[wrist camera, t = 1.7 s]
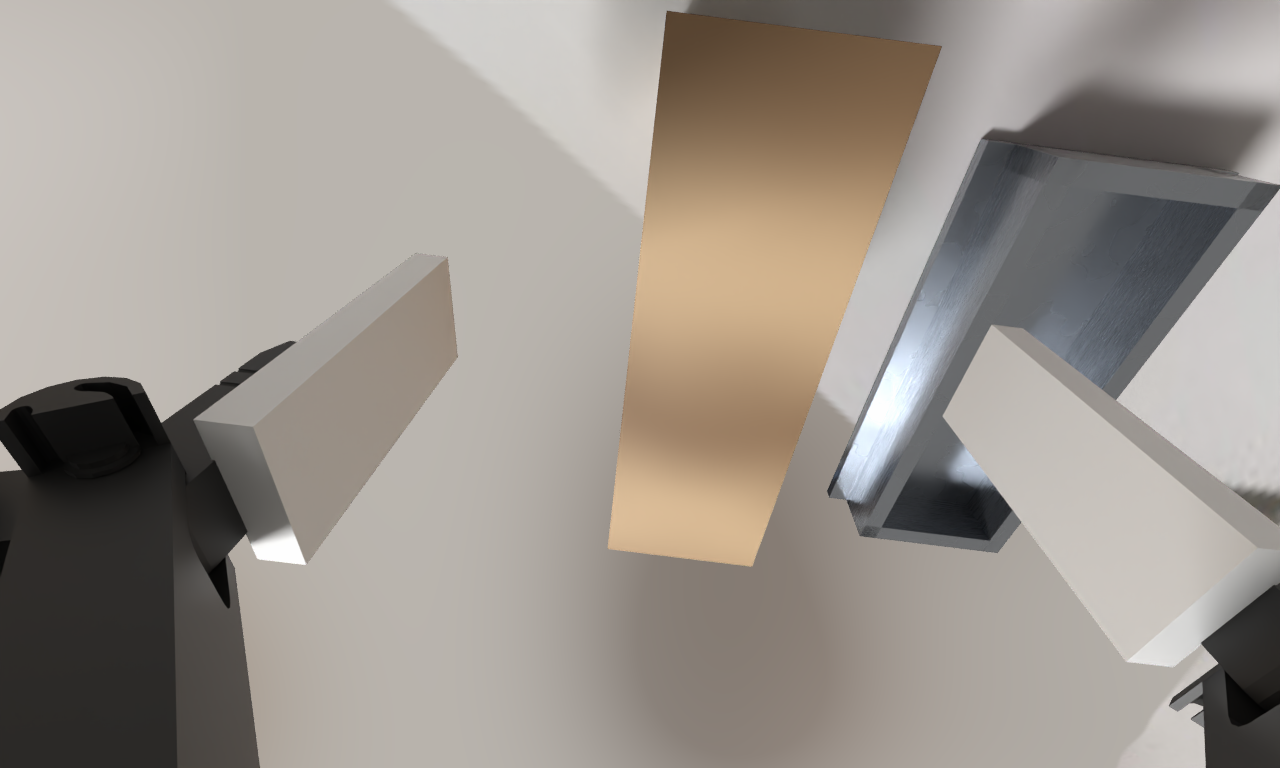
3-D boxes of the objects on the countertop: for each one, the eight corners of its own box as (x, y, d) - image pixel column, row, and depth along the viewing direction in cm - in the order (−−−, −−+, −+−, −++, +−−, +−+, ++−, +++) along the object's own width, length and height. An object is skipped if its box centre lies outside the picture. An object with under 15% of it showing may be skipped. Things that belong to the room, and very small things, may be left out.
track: (981, 139, 18) (1028, 153, 16) (1226, 170, 18) (1311, 189, 16) (827, 490, 28) (841, 533, 26) (986, 510, 28) (1015, 555, 26)
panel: (674, 31, 17) (666, 10, 7) (790, 46, 17) (941, 46, 7) (637, 339, 24) (607, 549, 14) (721, 350, 24) (751, 566, 14)
